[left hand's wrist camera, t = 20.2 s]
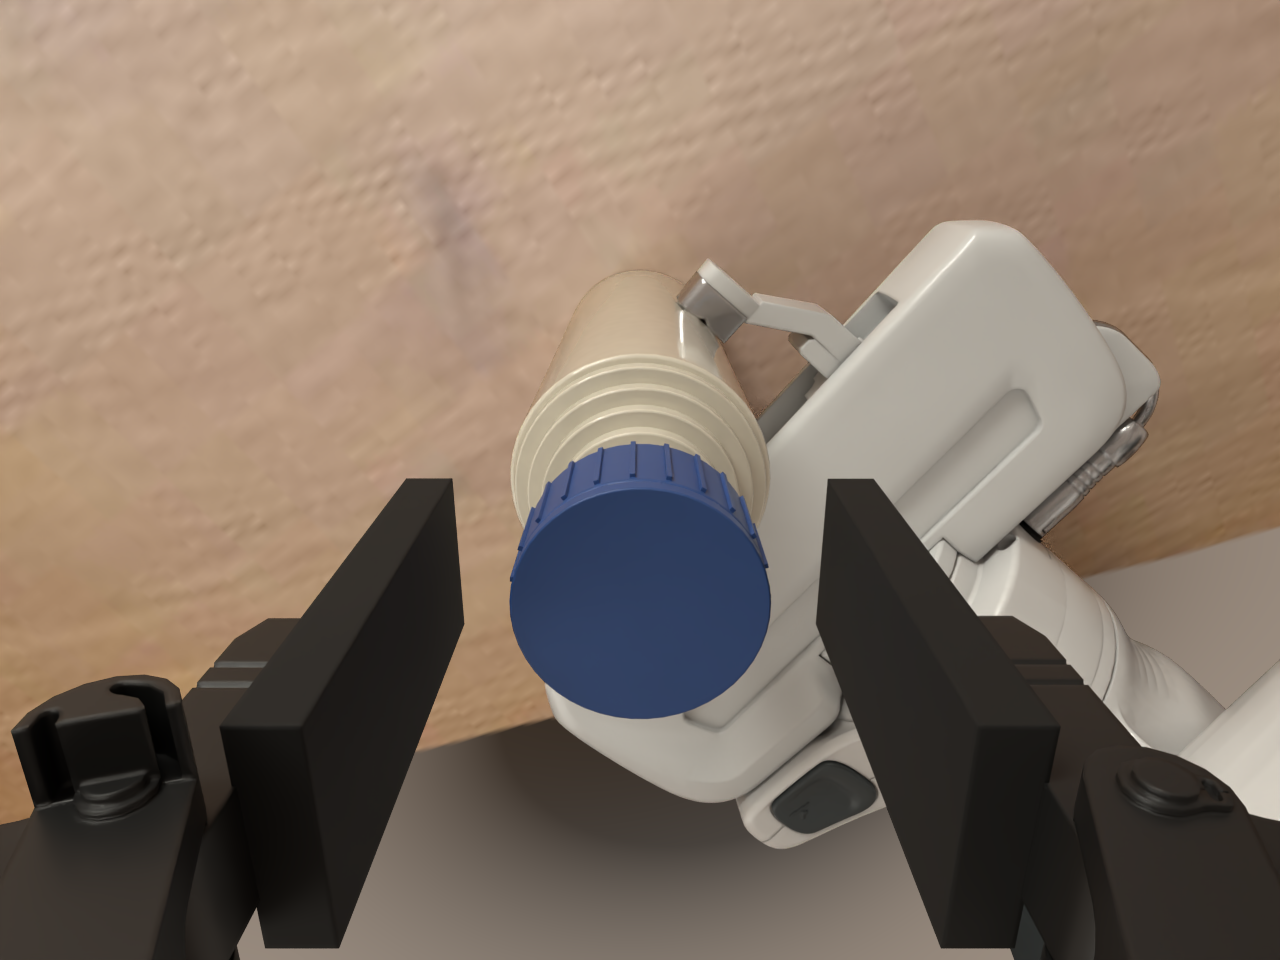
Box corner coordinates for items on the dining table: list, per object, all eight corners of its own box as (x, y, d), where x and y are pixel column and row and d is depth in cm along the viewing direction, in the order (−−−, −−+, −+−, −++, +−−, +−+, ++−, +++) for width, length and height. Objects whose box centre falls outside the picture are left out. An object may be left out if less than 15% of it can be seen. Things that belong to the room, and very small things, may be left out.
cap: (511, 445, 14) (489, 491, 12) (755, 431, 14) (775, 475, 12) (535, 655, 15) (520, 728, 13) (758, 644, 15) (775, 716, 13)
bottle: (604, 436, 32) (558, 778, 14) (543, 306, 31) (400, 507, 12) (734, 380, 32) (862, 667, 13) (678, 245, 30) (739, 362, 12)
